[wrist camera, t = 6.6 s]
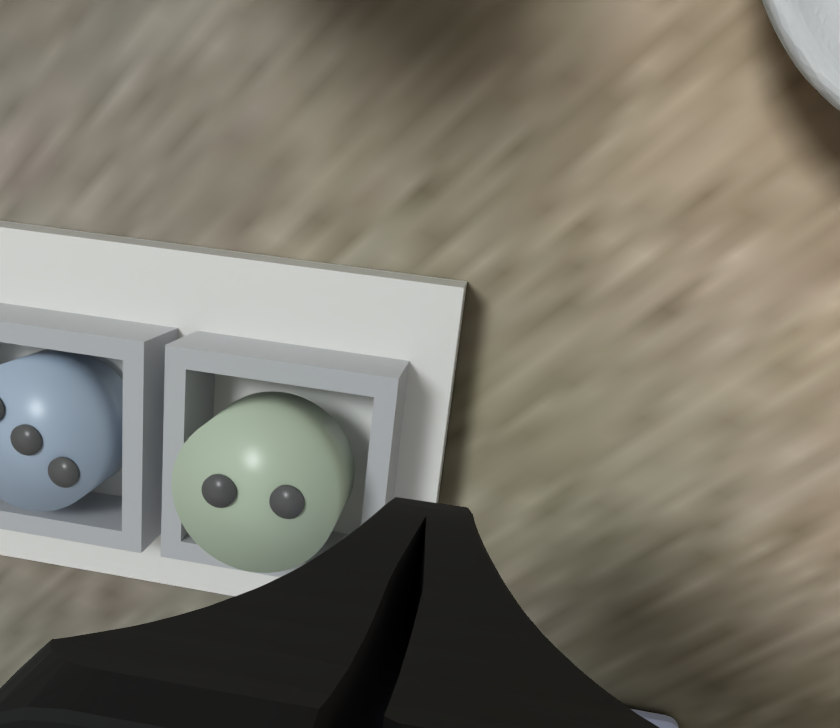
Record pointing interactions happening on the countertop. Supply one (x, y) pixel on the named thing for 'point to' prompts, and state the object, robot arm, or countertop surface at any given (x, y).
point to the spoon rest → (811, 40)
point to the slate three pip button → (58, 428)
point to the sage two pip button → (264, 482)
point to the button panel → (224, 379)
